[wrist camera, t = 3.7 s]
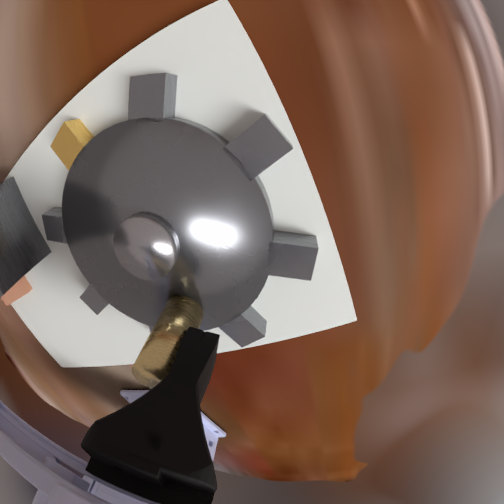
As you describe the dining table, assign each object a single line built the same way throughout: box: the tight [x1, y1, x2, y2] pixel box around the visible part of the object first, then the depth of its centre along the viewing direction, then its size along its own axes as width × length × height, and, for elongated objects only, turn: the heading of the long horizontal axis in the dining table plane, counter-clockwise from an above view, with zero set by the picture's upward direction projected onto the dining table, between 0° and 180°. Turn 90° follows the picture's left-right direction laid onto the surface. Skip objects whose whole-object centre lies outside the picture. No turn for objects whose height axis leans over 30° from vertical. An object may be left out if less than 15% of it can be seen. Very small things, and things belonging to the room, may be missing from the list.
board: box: [1, 0, 357, 367], centre depth 15 cm, size 17×29×2 cm, turn 114°
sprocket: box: [42, 73, 319, 389], centre depth 10 cm, size 14×14×6 cm
